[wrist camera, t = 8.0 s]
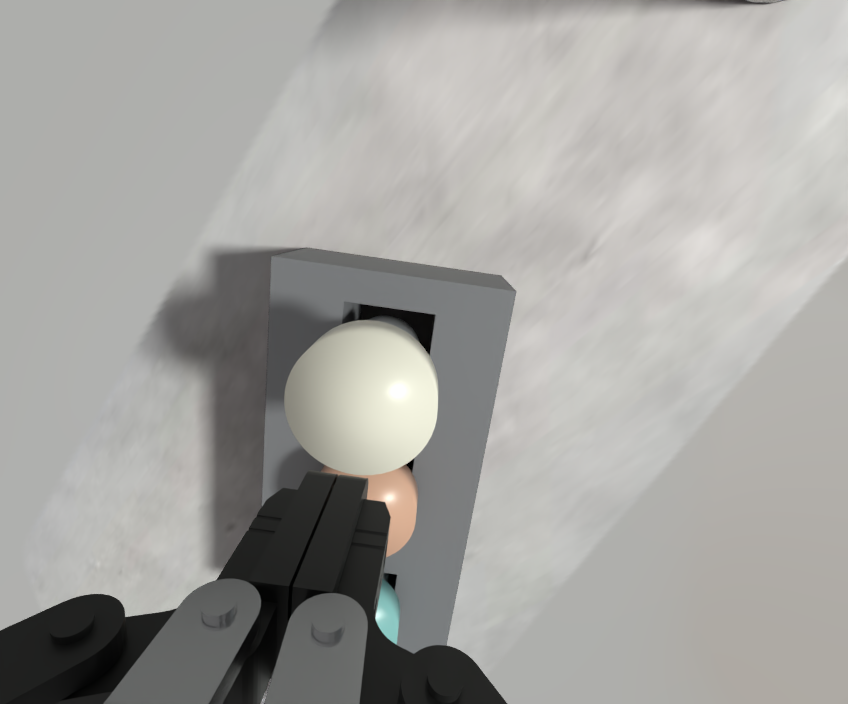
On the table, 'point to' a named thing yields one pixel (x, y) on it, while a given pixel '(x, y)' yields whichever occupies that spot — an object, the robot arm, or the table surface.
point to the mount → (457, 402)
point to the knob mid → (393, 501)
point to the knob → (364, 397)
